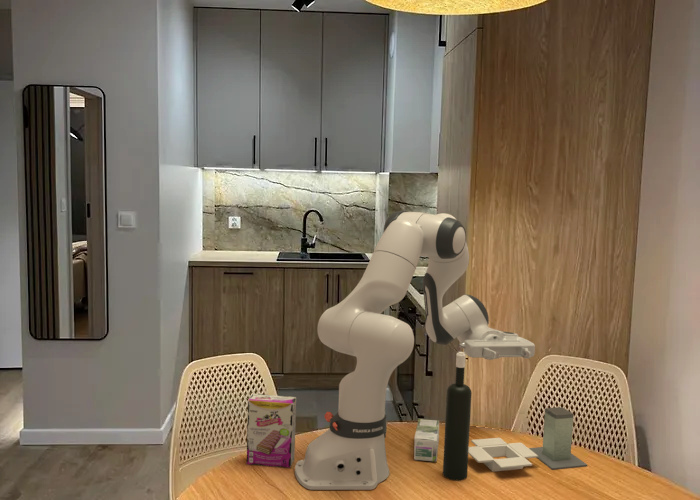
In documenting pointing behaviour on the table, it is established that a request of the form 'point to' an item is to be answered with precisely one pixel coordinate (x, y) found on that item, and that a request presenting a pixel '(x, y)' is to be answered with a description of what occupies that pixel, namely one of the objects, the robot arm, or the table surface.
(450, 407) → the wine bottle
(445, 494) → the table surface
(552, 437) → the tea tin
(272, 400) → the candy bar box
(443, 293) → the robot arm
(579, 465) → the mat
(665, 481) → the table surface
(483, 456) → the carton
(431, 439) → the syrup box
